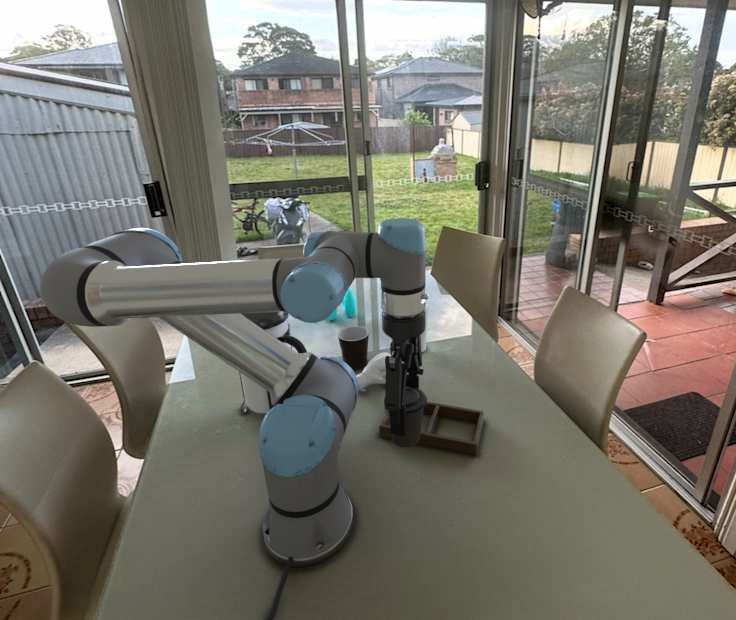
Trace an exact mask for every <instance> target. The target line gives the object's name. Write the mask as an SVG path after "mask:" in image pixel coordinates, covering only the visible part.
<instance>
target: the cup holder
mask: <svg viewBox="0 0 736 620" xmlns="http://www.w3.org/2000/svg"><path fill="white" fill-rule="evenodd" d="M423 414H426V415H431V418H430V420H429V423H428V425H427V428H426V431H421V433H420V440H419V442H418V443H417V444H416V445H420V446H425V447H430V448H435V449H440V450H444V451H450V452H455V453H459V454H464V455H469V456H475V457H477V454H478V449H479V444H480V441H481V434H482V430H483V425H484V421H485V420H484V418H485V411H484V410H478V409H473V408H467V407H461V406H456V405H451V404H450V405H449V404H443V403H437V402H433V401H432V402H431V401H427V403H426V405H425V407H424V410H423ZM439 417H442V418H448V419H454V420H459V421H464V422H471V423H476V429H475V434H474V437H473V441H472V440H468V439H463V438H457V437H451V436H446V435H441V434H436V433H434V432H435V429H436V426H437V423H438V420H439ZM379 437H380V438H385V439H391V440H393V439H392V434H391V427H390V421H389V415H388V410H386V413H385V414H384V417H383V419H382V420H381V422H380V424H379Z"/></svg>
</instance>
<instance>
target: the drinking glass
mask: <svg viewBox="0 0 736 620" xmlns="http://www.w3.org/2000/svg"><path fill="white" fill-rule="evenodd" d="M424 310H425V313H426V327H425V331H424V332H423V333H422V334H421V351H422V353H424V352H425V351H426V349H427V336H428V324H429V304H428V302H426V301H425V309H424Z"/></svg>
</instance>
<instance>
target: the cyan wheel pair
mask: <svg viewBox="0 0 736 620" xmlns="http://www.w3.org/2000/svg"><path fill="white" fill-rule="evenodd" d="M341 306H342V307H341V308H342V310H343V312H344V314H345V316H347V317H349V318H352V317H354V316H355V315H356V314H357V303H356V296H355V294H354V291H353V290H352V289H351V288H349V289H348V290H347V292H346V294H345V297H344V300H343V301H342V303H341ZM337 314H338V307H337V308H336V310H335V311H334V312H333V313H332V314H331V315H330V316H329V317H328V318H326V319H327V320H328V321H333V320H335V319H336V317H337Z"/></svg>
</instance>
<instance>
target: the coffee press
mask: <svg viewBox="0 0 736 620" xmlns="http://www.w3.org/2000/svg"><path fill="white" fill-rule="evenodd" d="M240 314H242V315H243V316H245V317H246V318H248V319H249V320H251V321H252V322H253V323H255V324H256V325H258V326H259V327H261V328H262V329H263V330H265V331H266V332H268V333H269V334H271V335H272V336H274V337H275V338H276V339H278V340H279V341H281V342H282V343H284V344H285V345H286V346H288V347H289V348H291V349H292V350H293V348H294V349H295V350H296V353H306V352H308V351H307V349H306V346H305V345H304V343H303V342H301V341H302V340H299V339H298V338H297V337H295V336H292V335H291V328H290V323H289V319H288V318H289V315H290V314H289V313H288V312H264V313H240ZM238 375H239V379H240V385H241V390H242V396H243V402H242V403H241V405H240V408H239V409H240V412H241V413H242V414H245V413H247V412H248V411H249V410H251V411H252V412H254V413H256V414H264V415H266V414H267V413H268V412H269V411H270V410H271V409H272V408H273V407H274V405H272V402H271V396H270V393H269V391H267V390H266V389H264V388H263V387H261V386H260V385H258V384H257V383H255V382H254V381H252V380H251V379H249V378H248V377H246V376H245V375H243V374H242V373H240V372H239V371H238ZM245 405H246V407H245V408H243V407H244V406H245Z"/></svg>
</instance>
